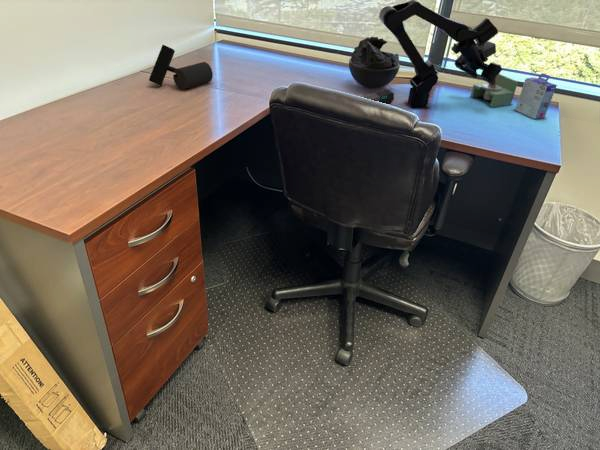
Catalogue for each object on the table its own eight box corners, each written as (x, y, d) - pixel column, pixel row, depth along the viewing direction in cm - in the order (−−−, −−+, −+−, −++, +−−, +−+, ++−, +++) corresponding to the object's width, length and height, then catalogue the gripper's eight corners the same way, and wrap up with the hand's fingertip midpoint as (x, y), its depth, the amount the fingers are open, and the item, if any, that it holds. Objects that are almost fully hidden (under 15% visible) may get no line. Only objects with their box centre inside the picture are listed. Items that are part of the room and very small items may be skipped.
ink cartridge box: (545, 117, 171) (560, 78, 163) (535, 119, 169) (549, 80, 161) (524, 108, 178) (537, 70, 170) (514, 110, 176) (526, 71, 168)
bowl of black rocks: (378, 77, 200) (384, 31, 189) (405, 93, 186) (414, 43, 175) (337, 82, 193) (342, 34, 182) (362, 98, 178) (369, 47, 167)
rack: (491, 107, 177) (498, 84, 172) (470, 96, 186) (476, 74, 181) (510, 104, 181) (518, 81, 176) (488, 94, 190) (495, 72, 184)
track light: (217, 69, 185) (170, 47, 183) (212, 62, 171) (161, 38, 169) (203, 105, 187) (156, 84, 185) (196, 101, 173) (145, 78, 171)
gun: (396, 110, 168) (392, 85, 162) (347, 132, 166) (341, 108, 160) (390, 106, 171) (386, 81, 165) (342, 127, 170) (336, 103, 163)
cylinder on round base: (485, 102, 179) (494, 69, 172) (475, 95, 184) (484, 64, 177) (500, 101, 180) (510, 69, 173) (490, 95, 186) (499, 63, 179)
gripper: (506, 41, 158) (519, 71, 169) (468, 28, 172) (483, 57, 182) (482, 66, 160) (496, 95, 170) (446, 52, 173) (462, 79, 184)
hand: (484, 80), depth 176 cm, fingers open, 9 cm apart
